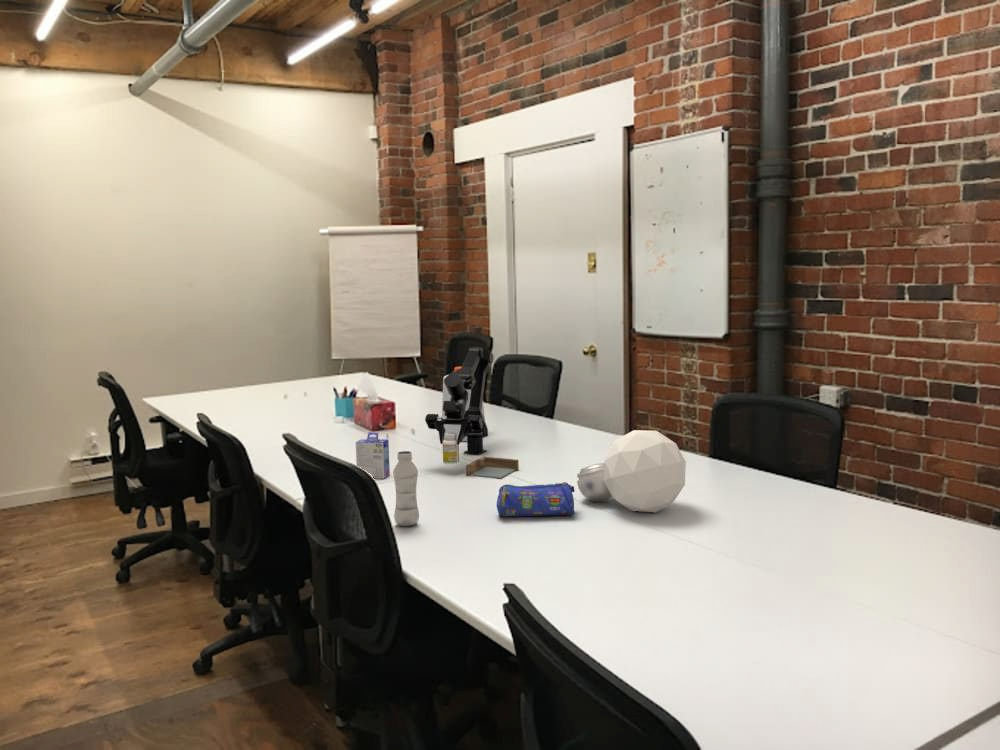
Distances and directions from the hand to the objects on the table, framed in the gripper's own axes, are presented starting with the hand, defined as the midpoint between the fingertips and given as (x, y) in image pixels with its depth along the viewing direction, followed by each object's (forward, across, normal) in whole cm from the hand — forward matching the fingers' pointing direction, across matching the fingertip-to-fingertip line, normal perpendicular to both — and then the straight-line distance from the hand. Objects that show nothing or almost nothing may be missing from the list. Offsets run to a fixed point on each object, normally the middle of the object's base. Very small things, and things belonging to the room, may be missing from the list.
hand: (449, 443), depth 279 cm
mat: (+5, +14, +10) cm, 18 cm away
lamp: (+26, +61, -11) cm, 67 cm away
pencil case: (+34, +36, -20) cm, 54 cm away
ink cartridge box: (+12, -24, +2) cm, 27 cm away
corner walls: (+5, +14, +10) cm, 18 cm away
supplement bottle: (+4, 0, +6) cm, 7 cm away
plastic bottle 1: (+44, +4, -30) cm, 54 cm away
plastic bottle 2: (-31, -11, +47) cm, 57 cm away
